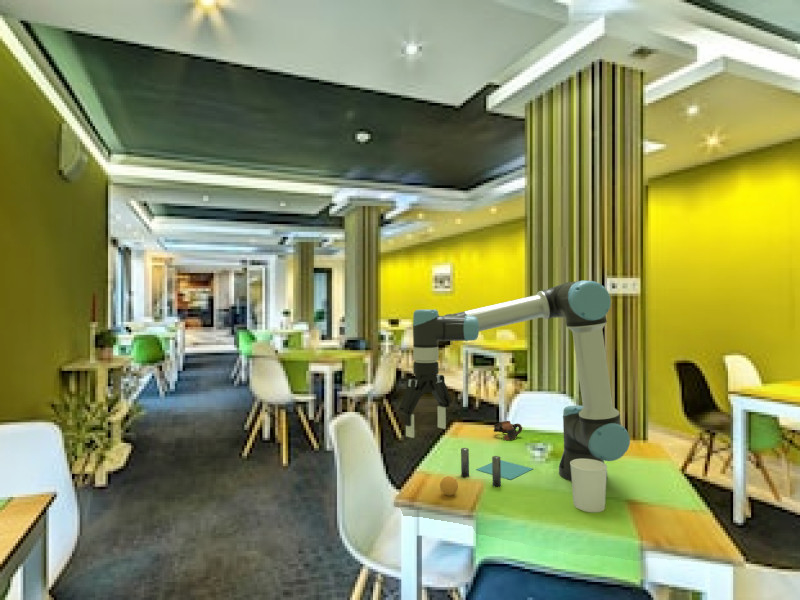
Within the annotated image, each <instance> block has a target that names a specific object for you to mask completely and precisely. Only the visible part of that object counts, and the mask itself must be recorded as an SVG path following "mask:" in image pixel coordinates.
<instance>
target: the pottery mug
mask: <svg viewBox="0 0 800 600" xmlns="http://www.w3.org/2000/svg"><path fill="white" fill-rule="evenodd" d="M517 428H518V430H517ZM522 431H523V426H522V424H520V423H511V421H510V420H504V421H500V422H498V423H495V424H494V425H493V432H494V433H502V434H503V433H507V434H505V435H504V434H503V436H502V437H503V440H504V441H505V440H507V441H513V440H512V439H514V440H516V439H517V437H518V435H519V434H521V432H522ZM515 438H516V439H515Z"/></svg>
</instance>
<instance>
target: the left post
mask: <svg viewBox="0 0 800 600" xmlns="http://www.w3.org/2000/svg"><path fill="white" fill-rule="evenodd" d="M469 451H470V449H469V448H468V447H461V448H460V467H461V468H460V470H461V471H460V475H461V477H463V478H468V477H470V457H469V456H470V453H469Z"/></svg>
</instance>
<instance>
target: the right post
mask: <svg viewBox="0 0 800 600" xmlns="http://www.w3.org/2000/svg"><path fill="white" fill-rule="evenodd" d="M501 460H502V459H501V456H498V455H492V457H491V463H492V474H491V477H492V486H493V487H494V486H495V487H494V488H500V486H501V487H502V477H501Z"/></svg>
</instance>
